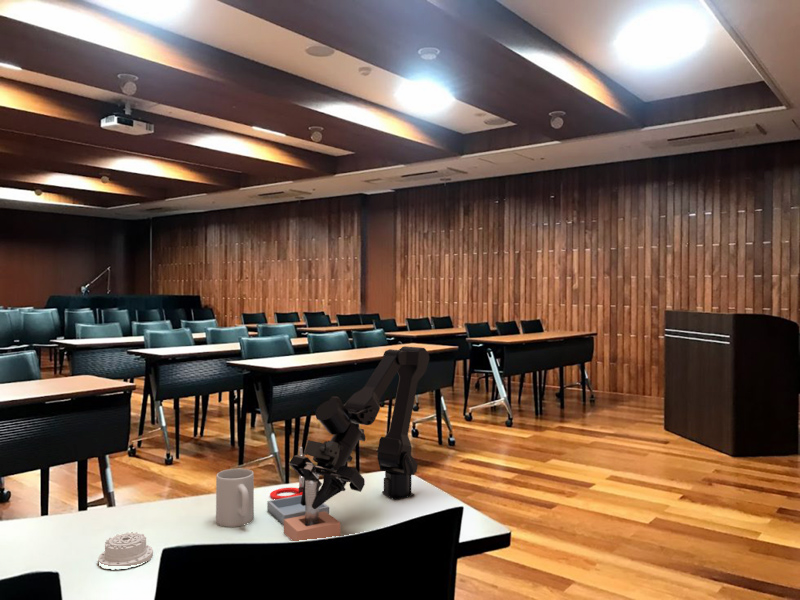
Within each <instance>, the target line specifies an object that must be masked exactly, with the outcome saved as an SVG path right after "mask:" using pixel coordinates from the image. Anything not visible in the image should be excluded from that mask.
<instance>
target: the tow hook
mask: <svg viewBox="0 0 800 600" xmlns="http://www.w3.org/2000/svg"><path fill="white" fill-rule="evenodd" d="M298 447H299V449H298V450H299V454H298V455H299V456H304V452H303V446H298ZM298 483H299V485H298V487H282V488H278V489H275V490H273V491H271V492H270V493H269V497H271V498H272V500H274V499H275V500H277V499H282V498H288V497H294V496H299V495H302V493H303V487H304V477H301V476H300V475H298ZM282 493H293V494H290V495H279V494H282ZM271 498H270V499H271Z"/></svg>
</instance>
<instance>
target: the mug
mask: <svg viewBox="0 0 800 600" xmlns="http://www.w3.org/2000/svg"><path fill="white" fill-rule="evenodd" d="M254 475H255V474H254V471H253V470H251V469H248V468H231V469H230V468H229V469H223V470H221V471H219V472H218V473H216V478H215V480H216V481H215V483H216V486H215V491H216V492H215V495H216V496H215V501H216V502H215V504H216V505H215V523H216V524H217V525H218V526H220V525H221V526H220V527H224V526H226V527H225V528H237V527H236V526H238V527H242V526H241V525H243V526H245V525H244V524H246V525H248V524H247V523H249V524H251V523H252V522H253V521H254V518H255V512H254V511H255V510H254V509H255V507H254V506H255V505H254V499H255V498H254V496H255V492H254V489H255V487H254V486H255V485H254V481H255V479H254V478H255V477H254ZM252 520H253V521H252ZM251 521H252V522H251ZM250 522H251V523H250Z"/></svg>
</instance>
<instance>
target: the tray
mask: <svg viewBox="0 0 800 600" xmlns="http://www.w3.org/2000/svg"><path fill="white" fill-rule="evenodd" d="M301 498H302V495H299V496H294V497H288V498H282V499H277V500H274V499H272V500H268V501H267V502H266V503H267V504H266V505H267V506H266V507H267V508H266V509H267V510H266V511H267V513H268V514H269V515H270V516H272V517H273V518H275V520H276V521H277V520H278V522H279V524H281V525H282V526H283V527H284V519H288V518H293V517H298V516H304V515H305V506H302V505H301ZM324 511H325V512H327V513H328V514H330V506H329V505H327V504H326V503H325V502H324V503H323V504H322V505H320V506H319V512H324Z"/></svg>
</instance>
